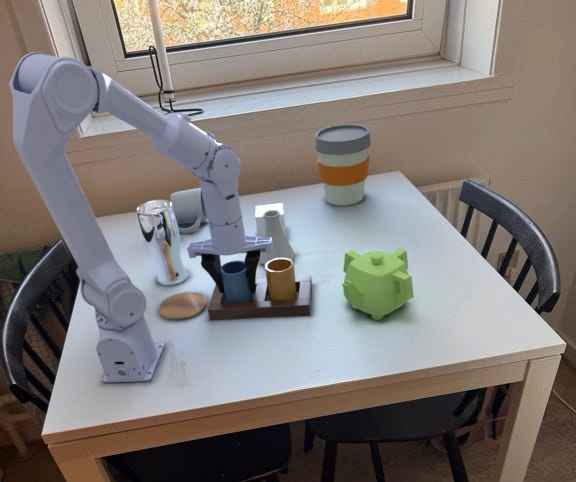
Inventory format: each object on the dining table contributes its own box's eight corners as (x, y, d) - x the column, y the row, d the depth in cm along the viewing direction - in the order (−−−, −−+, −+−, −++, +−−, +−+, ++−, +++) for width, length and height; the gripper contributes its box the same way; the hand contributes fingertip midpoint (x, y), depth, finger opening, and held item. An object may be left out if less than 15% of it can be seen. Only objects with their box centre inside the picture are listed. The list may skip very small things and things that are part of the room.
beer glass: (183, 287, 108) (164, 214, 98) (150, 286, 110) (128, 214, 100) (194, 269, 113) (177, 198, 103) (163, 269, 115) (143, 199, 105)
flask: (253, 265, 112) (246, 218, 105) (270, 249, 116) (264, 203, 110) (284, 270, 109) (278, 223, 102) (301, 253, 113) (296, 207, 107)
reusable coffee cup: (345, 183, 139) (342, 120, 130) (381, 195, 132) (382, 129, 122) (308, 200, 134) (302, 135, 124) (344, 213, 126) (341, 145, 116)
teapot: (344, 289, 101) (341, 240, 95) (407, 286, 100) (409, 236, 94) (343, 326, 93) (341, 275, 86) (413, 323, 91) (415, 271, 85)
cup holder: (310, 315, 96) (309, 304, 95) (209, 320, 98) (207, 310, 97) (312, 285, 104) (311, 275, 102) (218, 290, 106) (216, 280, 104)
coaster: (202, 319, 99) (201, 317, 98) (153, 321, 100) (153, 319, 100) (210, 292, 105) (210, 290, 105) (165, 295, 107) (164, 293, 106)
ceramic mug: (178, 216, 135) (170, 185, 129) (211, 213, 134) (204, 182, 129) (170, 236, 127) (161, 204, 122) (205, 233, 126) (198, 201, 121)
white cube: (286, 240, 119) (283, 214, 115) (259, 243, 119) (255, 217, 115) (285, 228, 123) (282, 202, 119) (259, 231, 124) (255, 205, 120)
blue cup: (252, 310, 99) (246, 273, 94) (225, 311, 100) (217, 275, 95) (255, 295, 103) (249, 259, 98) (229, 297, 104) (222, 261, 99)
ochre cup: (296, 308, 98) (292, 271, 93) (268, 309, 99) (263, 272, 94) (298, 293, 102) (294, 257, 97) (271, 294, 103) (266, 258, 98)
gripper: (270, 205, 93) (279, 276, 102) (187, 211, 94) (203, 280, 103) (266, 223, 87) (276, 296, 96) (178, 229, 89) (195, 300, 98)
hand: (238, 289), depth 99 cm, fingers closed on blue cup, 5 cm apart
